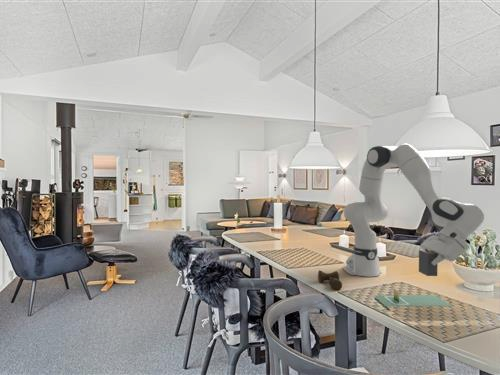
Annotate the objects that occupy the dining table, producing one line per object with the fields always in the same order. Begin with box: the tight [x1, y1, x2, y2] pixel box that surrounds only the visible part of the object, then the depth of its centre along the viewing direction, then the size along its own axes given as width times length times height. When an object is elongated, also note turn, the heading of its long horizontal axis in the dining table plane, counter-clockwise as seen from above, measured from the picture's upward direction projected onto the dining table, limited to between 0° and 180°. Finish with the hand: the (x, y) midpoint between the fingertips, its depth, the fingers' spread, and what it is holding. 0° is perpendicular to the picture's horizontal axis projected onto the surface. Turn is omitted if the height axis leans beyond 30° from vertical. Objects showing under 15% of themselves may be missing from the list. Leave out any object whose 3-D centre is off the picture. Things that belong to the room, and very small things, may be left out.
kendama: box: [317, 269, 343, 291], centre depth 166 cm, size 6×10×20 cm
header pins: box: [393, 288, 400, 302], centre depth 138 cm, size 4×1×4 cm, turn 2°
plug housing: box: [418, 248, 439, 277], centre depth 139 cm, size 7×4×10 cm, turn 1°
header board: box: [373, 294, 454, 311], centre depth 139 cm, size 13×26×2 cm, turn 91°
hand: (426, 261), depth 139 cm, fingers closed on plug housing, 7 cm apart
